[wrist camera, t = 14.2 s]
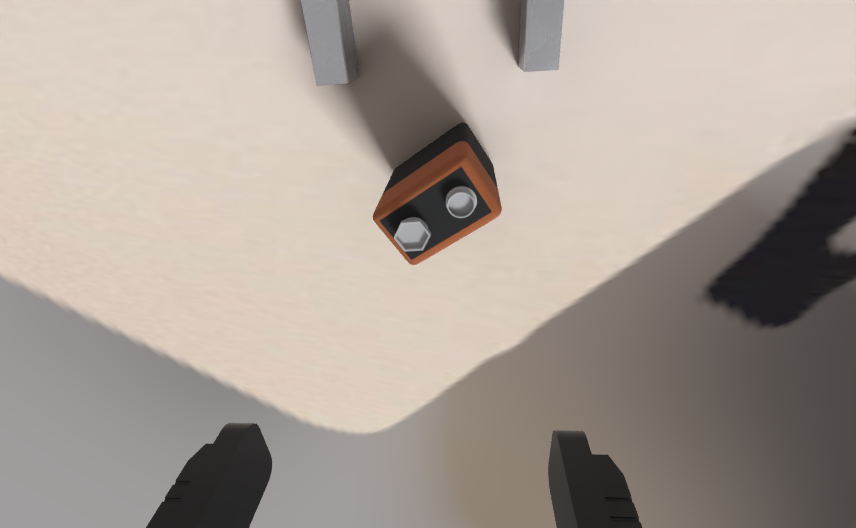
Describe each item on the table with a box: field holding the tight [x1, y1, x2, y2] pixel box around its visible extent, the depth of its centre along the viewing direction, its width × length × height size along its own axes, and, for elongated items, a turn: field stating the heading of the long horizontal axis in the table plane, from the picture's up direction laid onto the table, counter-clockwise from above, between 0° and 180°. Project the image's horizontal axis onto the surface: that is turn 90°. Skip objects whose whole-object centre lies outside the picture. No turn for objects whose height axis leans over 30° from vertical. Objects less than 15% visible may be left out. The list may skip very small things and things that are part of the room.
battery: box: [373, 123, 502, 265], centre depth 28 cm, size 4×7×10 cm, turn 125°
